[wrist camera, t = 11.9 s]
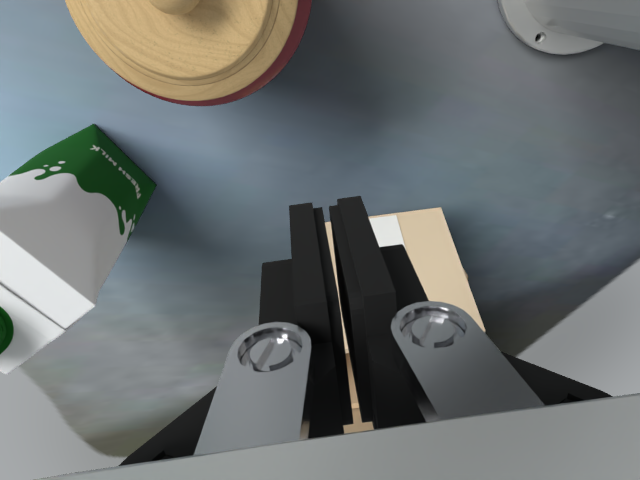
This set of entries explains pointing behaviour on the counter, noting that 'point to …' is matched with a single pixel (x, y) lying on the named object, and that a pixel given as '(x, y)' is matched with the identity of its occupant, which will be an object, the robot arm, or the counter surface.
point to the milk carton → (62, 237)
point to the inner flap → (423, 256)
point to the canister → (193, 44)
